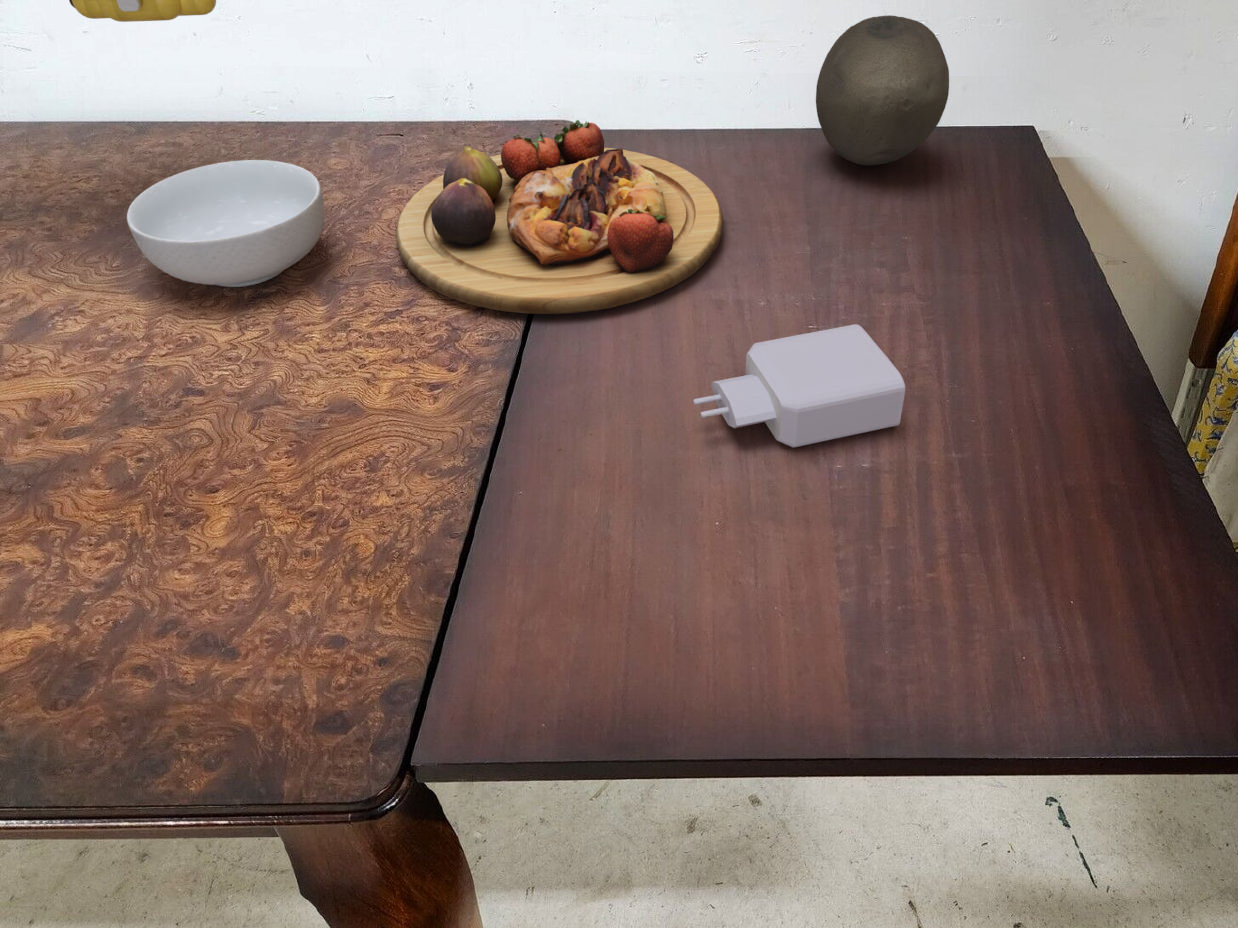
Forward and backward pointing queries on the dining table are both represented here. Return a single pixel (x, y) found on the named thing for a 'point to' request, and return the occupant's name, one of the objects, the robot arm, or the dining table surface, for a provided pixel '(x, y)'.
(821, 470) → the dining table surface
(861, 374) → the charger
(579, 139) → the wooden plate
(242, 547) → the dining table surface
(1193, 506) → the dining table surface
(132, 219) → the cereal bowl
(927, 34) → the kiwi fruit
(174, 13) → the yellow lumpy cylinder
